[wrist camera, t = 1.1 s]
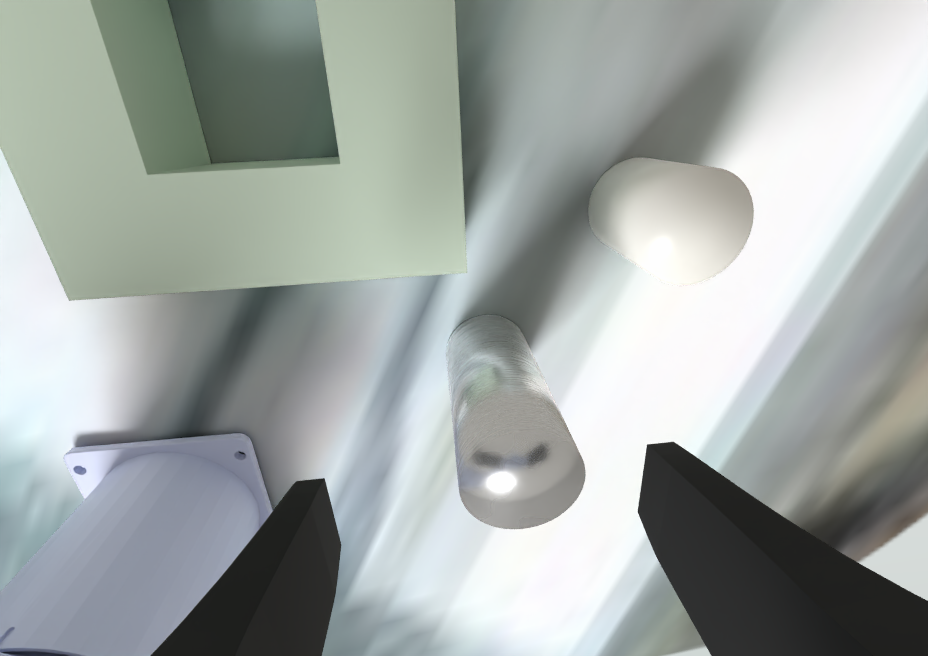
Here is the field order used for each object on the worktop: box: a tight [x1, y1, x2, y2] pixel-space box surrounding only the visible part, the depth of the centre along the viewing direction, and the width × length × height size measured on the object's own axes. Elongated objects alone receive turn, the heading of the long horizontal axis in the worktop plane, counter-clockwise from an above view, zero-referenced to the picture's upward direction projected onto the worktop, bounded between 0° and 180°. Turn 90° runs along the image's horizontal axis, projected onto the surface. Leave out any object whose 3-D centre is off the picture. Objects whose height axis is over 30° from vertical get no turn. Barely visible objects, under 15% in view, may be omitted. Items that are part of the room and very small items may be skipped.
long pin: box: [446, 315, 585, 529], centre depth 16 cm, size 4×4×8 cm
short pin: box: [588, 157, 754, 286], centre depth 16 cm, size 4×4×4 cm
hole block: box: [0, 0, 467, 301], centre depth 13 cm, size 12×12×4 cm
